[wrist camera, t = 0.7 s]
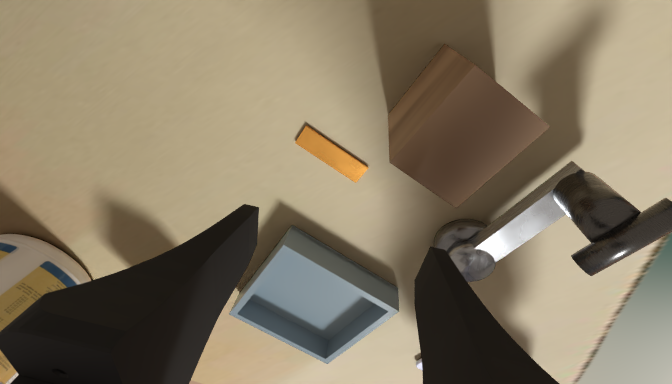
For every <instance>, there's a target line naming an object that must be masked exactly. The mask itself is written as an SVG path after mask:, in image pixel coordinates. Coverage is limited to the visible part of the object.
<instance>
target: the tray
mask: <svg viewBox="0 0 672 384" xmlns="http://www.w3.org/2000/svg"><path fill="white" fill-rule="evenodd" d="M398 312H399V299H398V288H397V287H395V286H394V285H392V284H390V283H389V282H387V281H385V280H384V279H382V278H380V277H379V276H377V275H375V274H374V273H372V272H370V271H369V270H367V269H365V268H364V267H362V266H360V265H359V264H357V263H355V262H353V261H352V260H350V259H348V258H347V257H345V256H343V255H342V254H340V253H338V252H337V251H335V250H333V249H332V248H330V247H328V246H327V245H325V244H323V243H322V242H320V241H318V240H317V239H315V238H313V237H312V236H310V235H308V234H307V233H305V232H303V231H301V230H300V229H298V228H296V227H295V226H293V225H292V226H291V227H290V228H289V229H288V231H287V232H286V233H285V235H284V236H283V237H282V239H281V240H280V241H279V242H278V244H277V245H276V246H275V248H274V249H273V250H272V252H271V253H270V254H269V255H268V257H267V258H266V259H265V261H264V262H263V263H262V265H261V266H260V267H259V268H258V270H257V271H256V272H255V274H254V275H253V276H252V278H251V279H250V280H249V281H248V283H247V284H246V285H245V287H244V288H243V289H242V291H241V292H240V293H239V295H238V297H237V299H236V301H235V303H234V305H233V307H232V309H231V311H230V313H229V314H230V315H232V316H234V317H236V318H238V319H240V320H242V321H243V322H245V323H247V324H249V325H251V326H253V327H255V328H257V329H259V330H261V331H263V332H265V333H267V334H269V335H271V336H273V337H275V338H277V339H279V340H281V341H283V342H285V343H287V344H289V345H291V346H293V347H295V348H297V349H299V350H301V351H303V352H305V353H307V354H309V355H311V356H313V357H315V358H317V359H319V360H321V361H322V362H324V363H326V364H328V363H329V362H331V361H332V360H334V359H335V358H336V357H338V356H339V355H340V354H342V353H343V352H344V351H346V350H347V349H349V348H350V347H351V346H353V345H354V344H355V343H357V342H358V341H359V340H361V339H362V338H364V337H365V336H366V335H368V334H369V333H370V332H372V331H373V330H374V329H376V328H377V327H379V326H380V325H381V324H383V323H384V322H385V321H387V320H388V319H389V318H391V317H392V316H394V315H395V314H396V313H398Z"/></svg>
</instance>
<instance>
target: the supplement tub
mask: <svg viewBox="0 0 672 384" xmlns="http://www.w3.org/2000/svg"><path fill="white" fill-rule="evenodd" d="M89 281H91V279H90V277H89V276H88V274H87V273H86V271H85V270H84V269H83V268H82V267H81V266H80V265H79V264H78V263H77V262H76V261H75V260H74V259H72V258H71V257H70V256H68V255H67V254H66V253H64V252H63V251H61V250H60V249H58V248H56V247H55V246H53V245H51V244H49V243H47V242H44V241H42V240H40V239H36V238H33V237H30V236H25V235H19V234H3V235H0V332H1V330H3V329H4V328H5V327H6V326H7V325H8V324H10V323H11V322H12V321H13V320H14V319H15V318H17V317H18V316H19V315H20V314H21V313H22V312H24V311H25V310H26V309H27V308H28V307H30V306H31V305H32V304H33V303H34V302H35V301H37V300H38V299H39V298H40V297H41V296H43V295H44V294H45V293H48V292H53V291H56V290H60V289H64V288H67V287H71V286H75V285H78V284H82V283H86V282H89ZM18 375H19V374H18V373H17V372H16V370H15V369H14V368H13V366H12V365H11V364H10V362H9V361H8V360H7V358H6V357H5V356H4V354H3V353H2V352H1V350H0V382H2V383H4V384H10V383H11V382H12V381H13V380H14V379H15V378H16V377H17V376H18Z"/></svg>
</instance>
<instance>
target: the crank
mask: <svg viewBox="0 0 672 384" xmlns="http://www.w3.org/2000/svg"><path fill="white" fill-rule="evenodd" d="M565 214H567V215H568V217H569V218H570V219H571V220H572V221H573V222H574V223H575V225H576V226H577V227H578V228H579V229H580V230H581V232H582V233H583V234H584V235H585V236H586V237H587V239H588V240H589V241H590V242H591V244H589V245H587V246H586V247H584V248H582V249H581V250H579V251H577V252H576V253H574V254H573V255H571V257H572V258H573V260H574V261H575V262H576V263H577V265H578V266H579V267H580V268H581V269H582V270H584V271H585V272H586V273H587V274H588V275H590V276H593V275H595V274H596V273H598V272H600V271H602V270H604V269H605V268H607V267H609V266H611V265H613V264H614V263H616V262H618V261H620V260H622V259H623V258H625V257H627V256H629V255H631V254H632V253H634V252H636V251H638V250H640V249H641V248H643V247H645V246H647V245H649V244H651V243H652V242H654V241H656V240H658V239H660V238H661V237H663V236H665V235H667V234H669V233H670V232H672V201H670V200H669V199H667V198H664V199H663V200H661V201H659V202H658V203H656V204H654V205H653V206H651V207H650V208H648V209H646V210H645V211H643V212H640V211H639V210H638V209H637V208H635V207H634V206H633V205H632V204H631V203H629V202H628V201H627V200H626V199H624V198H623V197H622V196H621V195H619V194H618V193H617V192H616V191H615V190H613V189H612V188H611V187H610V186H608V185H607V184H606V183H605V182H604V181H602V180H601V179H600V178H599V177H597V176H596V175H595V174H593V173H590V172H585V171H584V170H583V169H581V168H580V167H579V166H578V165H576V164H575V163H574V162H573V161H571V162H570V163H568V164H567V165H566V166H565V167H563V168H562V169H561V170H559V171H558V172H557V173H556V174H554V175H553V176H552V177H550V178H549V179H548V180H547V181H545V182H544V183H543V184H541V185H540V186H539V187H538V188H536V189H535V190H534V191H532V192H531V193H530V194H528V195H527V196H526V197H525V198H523V199H522V200H521V201H519V202H518V203H517V204H516V205H514V206H513V207H512V208H510V209H509V210H508V211H507V212H505V213H504V214H503V215H501V216H500V217H499V218H498V219H496V220H495V221H494V222H492V223H491V224H490V225H488V226H487V227H486V228H485V229H483V230H482V231H481V232H479V233H478V234H477V235H476V236H474V237H473V238H472V239H466V240H461V241H458V242H456V243H454V244H453V245H451V246H450V247H449V248H448V250H447V251H446V252H447V253H448V254H449V256H450V257H451V259H452V260H453V262H454V263H455V265H456V266H457V268H458V269H459V271H460V272H461V274H462V275H463V277H464V278H465V280H466V281H467V282H472V281H478V280H481V279H484V278H486V277H487V276H489V275H490V274H491V273H492V272H493V270H494V268H495V263H496V262H497V261H499V260H500V259H502V258H503V257H505V256H506V255H507V254H509V253H510V252H512V251H513V250H515V249H516V248H518V247H519V246H520V245H522V244H523V243H525V242H526V241H528V240H529V239H531V238H532V237H534V236H535V235H536V234H538V233H539V232H541V231H542V230H544V229H545V228H547V227H548V226H550V225H551V224H552V223H554V222H555V221H557V220H558V219H560V218H561V217H563V216H564V215H565Z"/></svg>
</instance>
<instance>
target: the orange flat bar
mask: <svg viewBox="0 0 672 384" xmlns="http://www.w3.org/2000/svg"><path fill="white" fill-rule="evenodd" d="M295 143H296V144H298V145H299V146H301V147H302V148H304V149H305V150H307V151H308V152H310V153H311V154H313V155H314V156H316V157H317V158H319V159H320V160H322V161H323V162H325V163H326V164H328V165H329V166H331V167H333V168H334V169H336V170H337V171H339V172H340V173H342V174H343V175H345V176H346V177H348V178H349V179H351V180H352V181H354V182H355V183H356V182H357V181H358V180H359V178H360V177H361V176H362V175H363V174H364V172H365V171H366V170H367V169H368V166H366V165H365V164H363V163H362V162H360V161H359V160H357V159H356V158H354V157H353V156H351V155H350V154H348V153H347V152H345V151H344V150H342V149H341V148H340V147H338V146H337V145H335V144H334V143H332V142H331V141H329V140H328V139H326V138H325V137H323V136H322V135H320V134H319V133H317V132H316V131H314V130H313V129H311V128H310V127H309V126H307V125H306V127H305V128H304V130H303V131H302V133H301V134H300V136H299V137H298V139H297V141H296V142H295ZM486 227H487V225H485V224H484V223H482V222H480V221H476V220H472V219H461V220H456V221H453V222H450V223H448V224H446V225H445V226H443V227H442V228H441V229H440V230H439V231H438V232H437V234H436V236H435V239H434V247H435V248H439V249H444V250H446V251H447V250H448V248H449V247H450V246H451V245H453V244H454V243H456V242H458V241H461V240H466V239H472V238H473V237H474V236H476V235H477V234H478V233H479V232H481V231H482V230H483V229H485V228H486Z"/></svg>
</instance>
